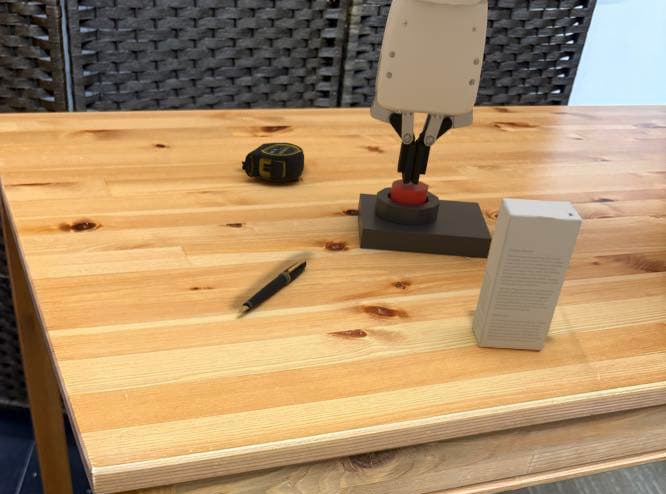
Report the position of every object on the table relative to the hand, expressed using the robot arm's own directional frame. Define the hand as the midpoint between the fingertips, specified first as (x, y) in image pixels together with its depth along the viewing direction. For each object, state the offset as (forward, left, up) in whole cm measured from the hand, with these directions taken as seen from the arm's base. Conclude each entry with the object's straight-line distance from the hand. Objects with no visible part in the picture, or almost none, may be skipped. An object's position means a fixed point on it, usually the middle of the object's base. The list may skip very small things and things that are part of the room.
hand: (409, 179), depth 89 cm
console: (-2, 0, -6) cm, 6 cm away
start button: (0, 0, -2) cm, 2 cm away
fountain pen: (+14, +18, -6) cm, 24 cm away
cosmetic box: (-8, +24, -6) cm, 26 cm away
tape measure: (+16, -15, -6) cm, 23 cm away
